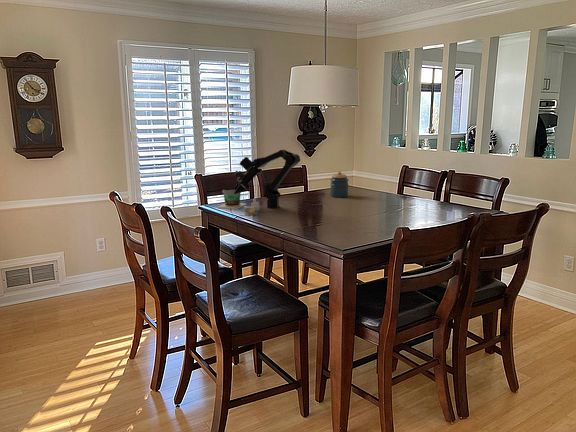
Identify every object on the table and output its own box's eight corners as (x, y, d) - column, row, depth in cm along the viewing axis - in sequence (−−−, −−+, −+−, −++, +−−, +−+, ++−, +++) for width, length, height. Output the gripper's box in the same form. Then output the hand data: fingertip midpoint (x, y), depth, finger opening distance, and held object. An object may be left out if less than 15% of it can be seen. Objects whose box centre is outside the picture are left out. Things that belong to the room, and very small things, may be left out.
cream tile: (245, 205, 303) (245, 203, 302) (236, 209, 290) (236, 207, 289) (227, 204, 307) (227, 202, 306) (218, 208, 294) (218, 206, 293)
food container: (223, 206, 293) (222, 190, 291) (222, 204, 299) (222, 189, 297) (242, 205, 295) (242, 190, 293) (242, 203, 301) (241, 188, 299)
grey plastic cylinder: (260, 210, 286) (260, 202, 285) (257, 211, 281) (257, 203, 280) (253, 209, 287) (252, 201, 286) (250, 211, 283) (249, 203, 282)
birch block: (254, 214, 275) (254, 206, 274) (251, 215, 271) (251, 207, 270) (247, 213, 277) (247, 206, 276) (244, 215, 272) (244, 207, 271)
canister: (327, 195, 337) (327, 170, 334) (344, 194, 340) (345, 170, 337) (333, 198, 325) (334, 172, 321) (351, 197, 328) (351, 172, 324)
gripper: (239, 164, 303) (223, 182, 303) (243, 167, 285) (225, 186, 285) (252, 176, 306) (236, 193, 306) (256, 179, 288) (239, 198, 288)
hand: (234, 192), depth 296 cm, fingers open, 9 cm apart
